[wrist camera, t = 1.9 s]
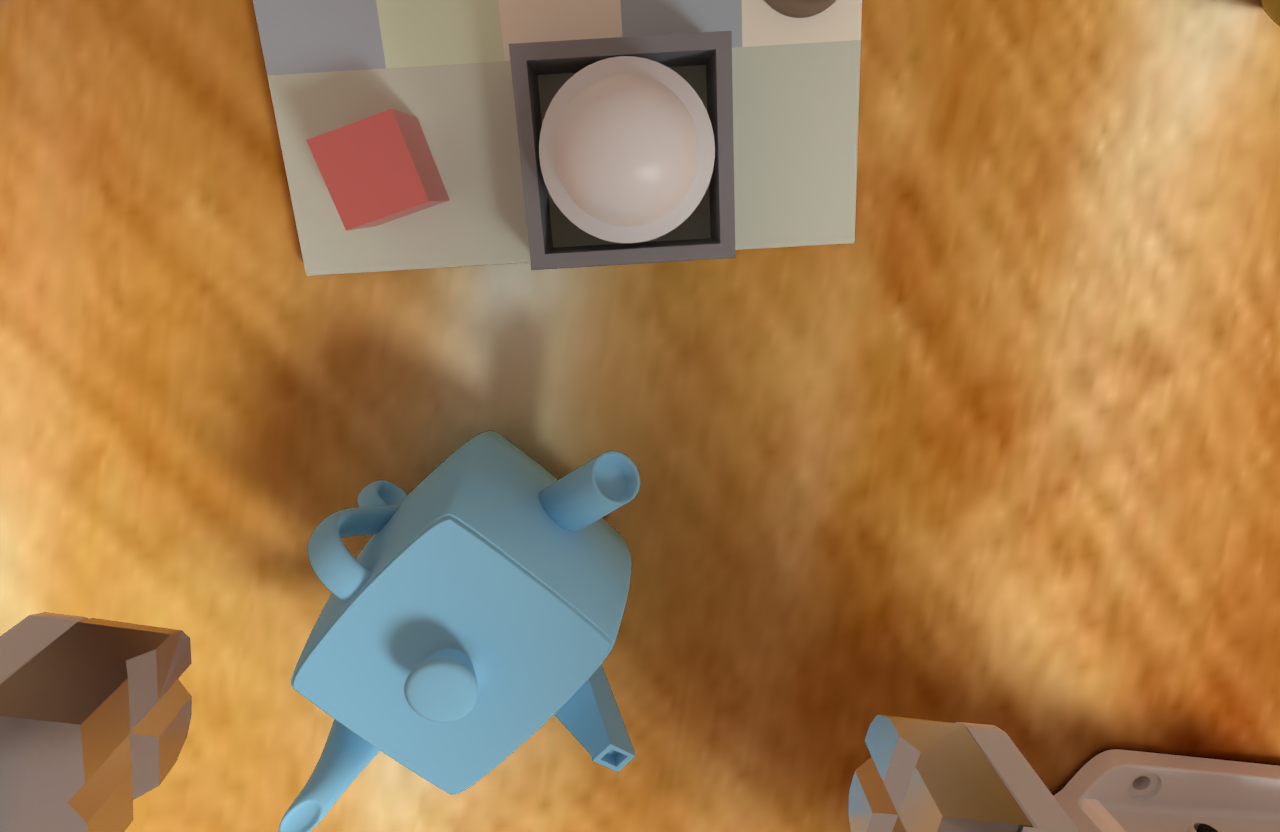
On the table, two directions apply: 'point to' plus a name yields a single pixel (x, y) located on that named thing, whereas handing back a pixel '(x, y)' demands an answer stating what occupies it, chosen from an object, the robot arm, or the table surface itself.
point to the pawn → (799, 7)
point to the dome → (626, 149)
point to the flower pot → (1272, 9)
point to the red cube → (378, 169)
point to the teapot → (467, 620)
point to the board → (517, 103)
